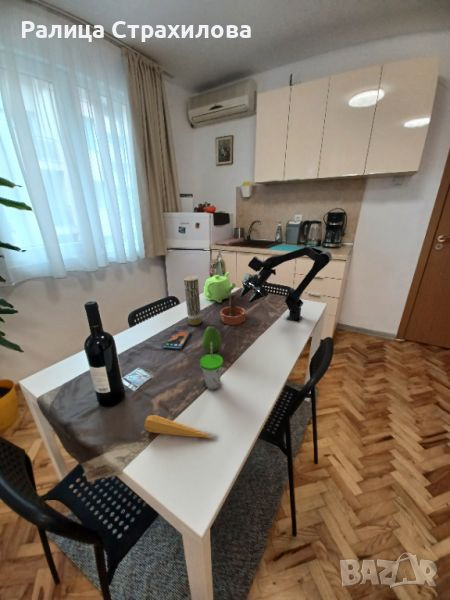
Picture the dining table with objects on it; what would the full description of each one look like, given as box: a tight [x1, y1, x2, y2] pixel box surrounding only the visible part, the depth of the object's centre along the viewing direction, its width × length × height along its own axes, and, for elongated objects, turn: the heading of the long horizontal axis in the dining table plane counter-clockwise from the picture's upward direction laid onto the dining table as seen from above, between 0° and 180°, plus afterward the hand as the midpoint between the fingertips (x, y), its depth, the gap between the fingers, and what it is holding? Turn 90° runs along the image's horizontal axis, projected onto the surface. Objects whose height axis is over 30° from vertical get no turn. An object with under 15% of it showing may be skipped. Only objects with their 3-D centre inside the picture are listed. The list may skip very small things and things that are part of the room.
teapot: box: [203, 271, 237, 303], centre depth 154 cm, size 25×22×16 cm
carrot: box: [143, 414, 215, 439], centre depth 65 cm, size 20×4×4 cm, turn 79°
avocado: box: [201, 325, 222, 354], centre depth 100 cm, size 8×8×12 cm
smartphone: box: [163, 329, 192, 350], centre depth 111 cm, size 8×1×15 cm
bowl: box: [220, 306, 246, 326], centre depth 127 cm, size 13×13×5 cm
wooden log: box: [183, 275, 202, 326], centre depth 121 cm, size 7×7×25 cm
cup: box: [199, 342, 224, 391], centre depth 80 cm, size 8×8×15 cm
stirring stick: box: [229, 292, 237, 317], centre depth 125 cm, size 4×4×14 cm
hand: (244, 299), depth 127 cm, fingers open, 9 cm apart
